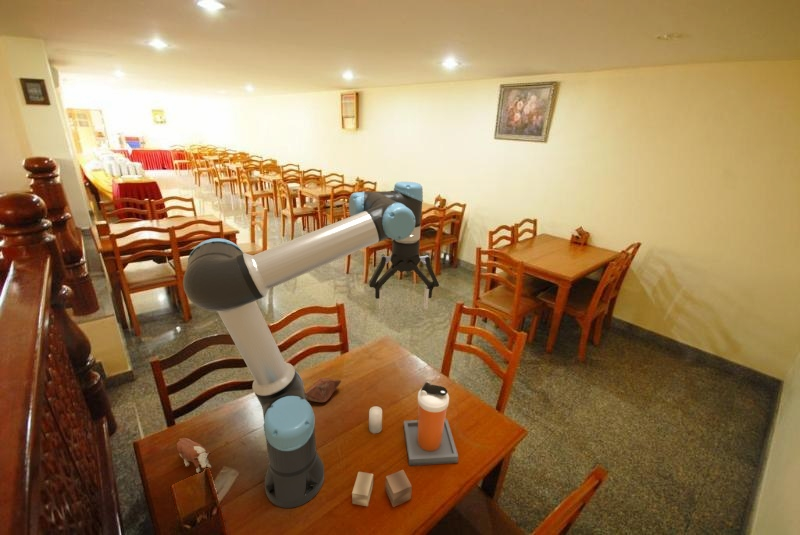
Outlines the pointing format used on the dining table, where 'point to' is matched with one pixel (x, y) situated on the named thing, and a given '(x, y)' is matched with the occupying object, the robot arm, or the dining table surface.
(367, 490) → the oak block
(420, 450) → the tray
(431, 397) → the shaker bottle
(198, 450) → the bull figurine
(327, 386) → the fossil
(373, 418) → the ceramic shaker
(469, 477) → the dining table surface
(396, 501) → the walnut block
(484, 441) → the dining table surface
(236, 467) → the dining table surface
